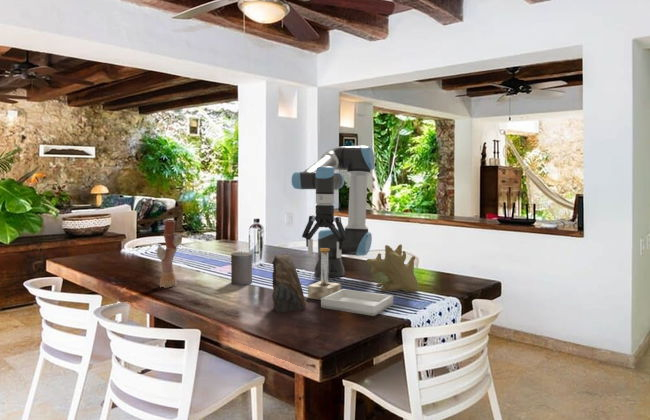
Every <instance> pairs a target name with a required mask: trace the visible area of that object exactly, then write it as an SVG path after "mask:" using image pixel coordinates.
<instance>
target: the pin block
mask: <svg viewBox="0 0 650 420" xmlns="http://www.w3.org/2000/svg"><path fill="white" fill-rule="evenodd" d="M341 289H342V283H338V282H330V281H328V286H321V280H320V281H316V282H314V283H311V284H309V285H307V298H308V299H314V300H320V301H321V298H323V297H325V296H328V295H330V294H332V293H335V292H337V291H339V290H341Z"/></svg>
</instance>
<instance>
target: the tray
mask: <svg viewBox="0 0 650 420" xmlns="http://www.w3.org/2000/svg"><path fill="white" fill-rule="evenodd" d="M393 305H394V295H392V294H386V293H384V294H383V293H377V292H371V291H362V290H356V289H346V288H341V290H339V291H337V292H335V293H332V294H330V295H328V296H325V297H323V298H321V300H320V308H322V309H327V310H328V309H329V310H334V311H341V312H346V313H352V314H353V313H354V314H358V315H365V316H372V317H376V316H377V315H378V314H380V313H381V312H383V311H385V310H387V309H388V308H390V307H392V306H393Z"/></svg>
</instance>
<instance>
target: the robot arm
mask: <svg viewBox="0 0 650 420" xmlns="http://www.w3.org/2000/svg"><path fill="white" fill-rule="evenodd" d="M375 164H376V159H375V154H374V151H373V149H372V147H371V146H367V145H348V146H337V147H334V148H332V149H330V150H328V151H326V152H325V153H323V154H322V155H321V157H320V159H318V160H317V161H315V162H314V163H313V164H312V165H310V166H309V167H307V168H306V169H305V170H304V171H295V172H293V174H292V175H291V185H292V187H293V189H296V190H315V204H316V205H315V215H308V221H307V224H306V225H305V228H304V231H303V232H302V235H301V238H305V241H306V244H305V245H306V246H305V247H306V248H307V256H313V255H314V254H313V253H314V252H313V251H314V247H313V245H314V241H313V237H314V235H315V234H316V233H317V231H318V230H319V229H320V228H325V229H321V230H319V231H318V237H317V261H316V265H315V268H314V275H315V276H316V277H320V278H321V251H320V248H329V249H330V251H328V278H338V277H343V276H344V275H345V267H344V264H343V261H342V256H343V255H345V256H356V257H359V256H360V257H361V256H362V257H364V256H367V255H368V253H369V252H370V251H371V250H370V249H371V247H372V241H373V238H372V232H369V228H368V226H367V225H366V220H367V219H366V217H367V216H366V215H367V195H368V191H367V190H368V177H369V176H370V175H371V171H373V170H374V169H375V166H376V165H375ZM337 170H345V171H346V173H347V175H348V176H349V193H348V196H349V197H348V215H347V216H348V218H347V225H346V226H343V223H342V218H341V216H336V217H335V216H334V214H335V206H334V204H335V191H337V190H339V189H342V187H344V184H345V177H344V175H342V173H340V172H338V171H337ZM314 222H316V223H315V224H314ZM334 223H335V224H334ZM312 226H313V227H312Z"/></svg>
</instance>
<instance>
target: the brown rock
mask: <svg viewBox="0 0 650 420" xmlns="http://www.w3.org/2000/svg"><path fill="white" fill-rule="evenodd" d="M271 264H272V266H273V271H272V275H271V276H272V289H273V291H272V295H271V296H272V297H271V298H272V302H273V310H274V311H275V312H276V313H279V314H281V313H288V312H296V311H298V312H299V311H303V310H307V307H306V300H305V295H304V290H303V287H302V284H301V281H300V277H299V275H298V271H297V268H296V266H295V264H294V262H293V259H292V257H291V255H290V254H289V253H284V254H276V255H275V256H274V258H273V260H272V263H271Z"/></svg>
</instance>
